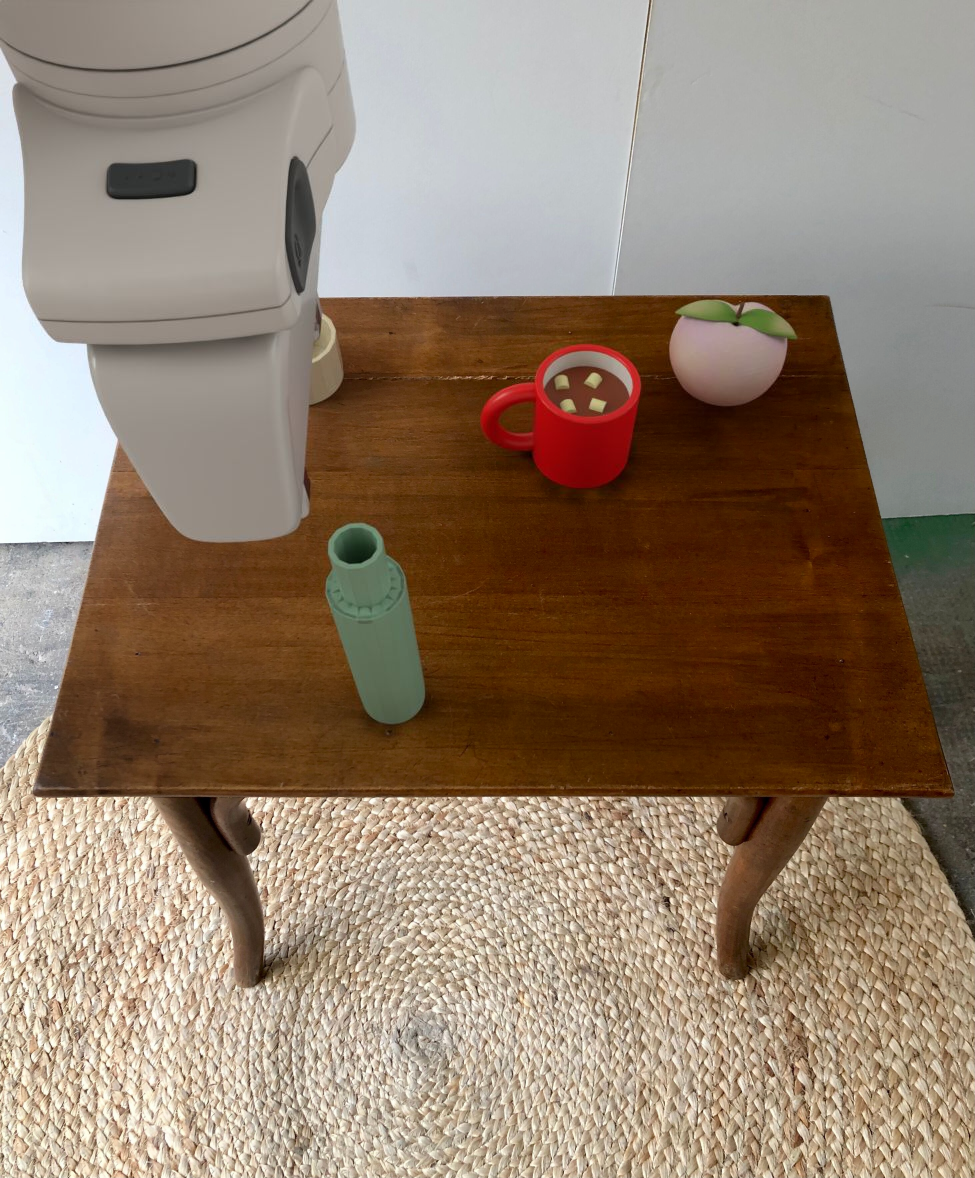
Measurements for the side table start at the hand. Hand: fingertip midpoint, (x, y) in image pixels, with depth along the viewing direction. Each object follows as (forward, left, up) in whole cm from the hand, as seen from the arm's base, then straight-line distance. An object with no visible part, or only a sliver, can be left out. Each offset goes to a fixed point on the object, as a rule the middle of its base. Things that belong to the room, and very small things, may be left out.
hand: (296, 412), depth 38 cm
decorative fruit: (+28, +26, -29) cm, 48 cm away
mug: (+14, +21, -29) cm, 39 cm away
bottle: (+1, 0, -29) cm, 29 cm away
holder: (-7, +30, -29) cm, 43 cm away
